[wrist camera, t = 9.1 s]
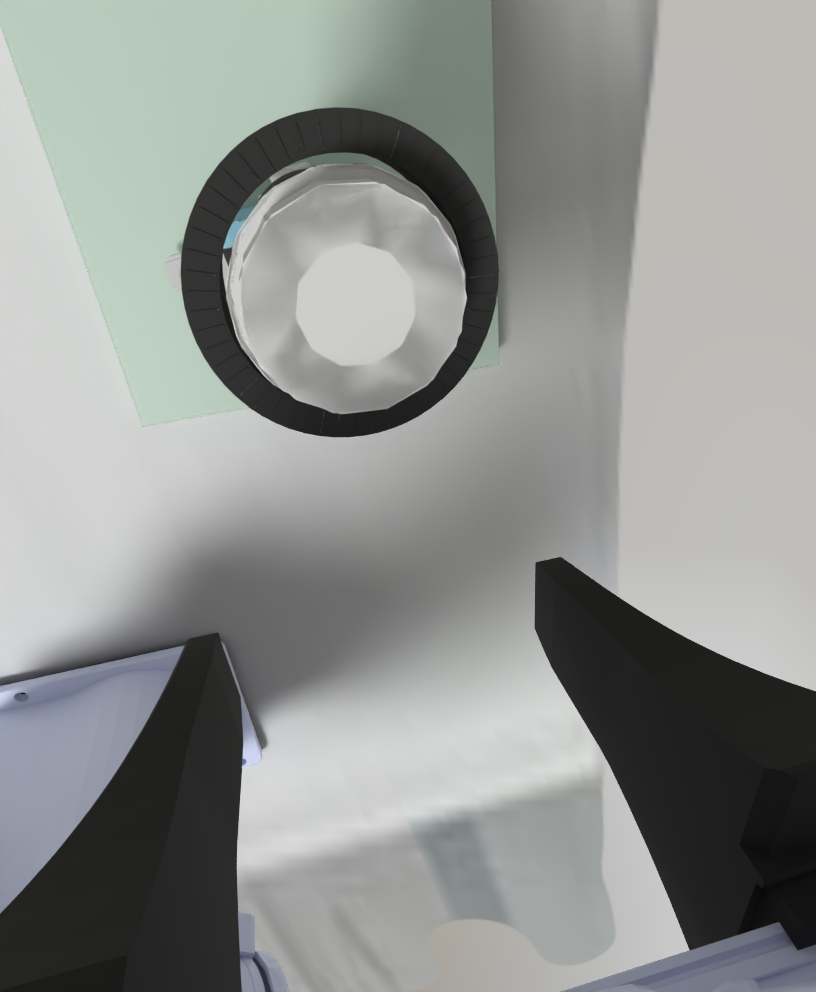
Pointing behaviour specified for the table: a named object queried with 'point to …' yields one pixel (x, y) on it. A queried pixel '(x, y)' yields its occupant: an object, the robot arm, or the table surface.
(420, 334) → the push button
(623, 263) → the table surface
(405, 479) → the table surface
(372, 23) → the sage board
